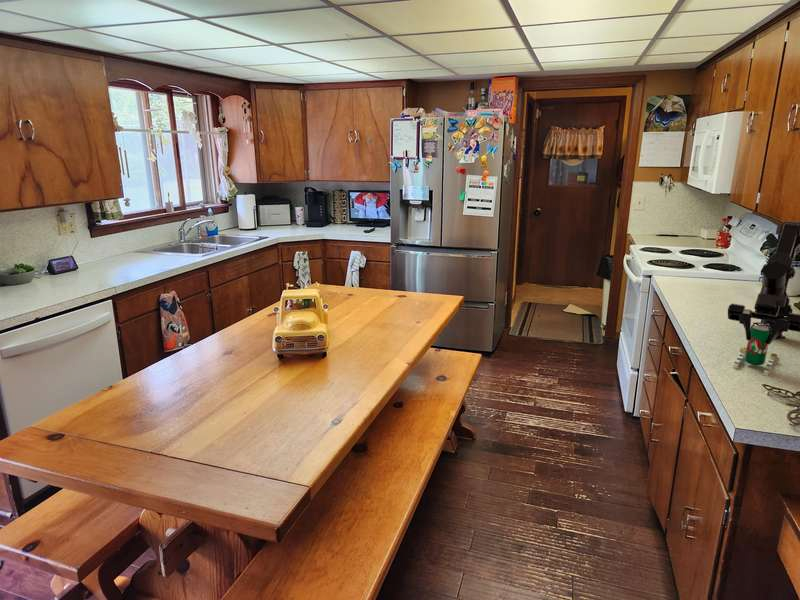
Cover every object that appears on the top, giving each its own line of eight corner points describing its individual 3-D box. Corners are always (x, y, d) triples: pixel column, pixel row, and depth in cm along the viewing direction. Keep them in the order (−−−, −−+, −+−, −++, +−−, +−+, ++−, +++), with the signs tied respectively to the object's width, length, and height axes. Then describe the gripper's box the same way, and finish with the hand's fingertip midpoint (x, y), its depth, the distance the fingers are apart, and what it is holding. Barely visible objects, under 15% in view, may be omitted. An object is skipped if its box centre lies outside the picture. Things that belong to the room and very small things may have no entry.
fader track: (744, 349, 171) (745, 345, 170) (776, 356, 165) (777, 351, 165) (732, 368, 156) (733, 363, 156) (767, 375, 151) (768, 371, 150)
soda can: (758, 359, 160) (766, 322, 156) (767, 366, 155) (775, 327, 152) (740, 359, 160) (747, 321, 157) (749, 365, 155) (757, 327, 152)
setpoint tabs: (740, 350, 167) (741, 347, 166) (776, 358, 161) (777, 355, 160) (739, 352, 165) (739, 349, 165) (775, 359, 159) (776, 356, 159)
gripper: (734, 277, 160) (720, 321, 155) (811, 288, 148) (799, 335, 143) (734, 297, 168) (721, 339, 163) (807, 308, 156) (796, 354, 151)
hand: (757, 341), depth 155 cm, fingers closed on soda can, 5 cm apart
